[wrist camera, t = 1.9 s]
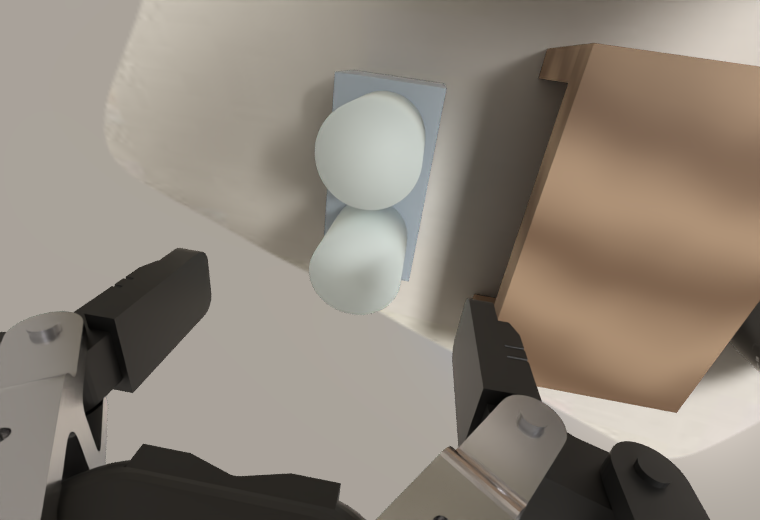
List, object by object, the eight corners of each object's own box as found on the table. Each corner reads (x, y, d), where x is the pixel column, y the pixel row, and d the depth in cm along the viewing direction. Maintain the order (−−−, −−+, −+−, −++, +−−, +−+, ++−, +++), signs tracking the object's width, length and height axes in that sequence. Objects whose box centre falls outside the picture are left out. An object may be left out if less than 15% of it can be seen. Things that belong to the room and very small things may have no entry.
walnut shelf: (547, 48, 21) (594, 42, 15) (770, 81, 20) (916, 88, 14) (469, 310, 30) (478, 375, 23) (625, 338, 29) (676, 412, 23)
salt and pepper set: (354, 69, 23) (303, 74, 14) (444, 83, 23) (450, 96, 14) (339, 234, 28) (296, 312, 19) (412, 246, 28) (402, 331, 19)
